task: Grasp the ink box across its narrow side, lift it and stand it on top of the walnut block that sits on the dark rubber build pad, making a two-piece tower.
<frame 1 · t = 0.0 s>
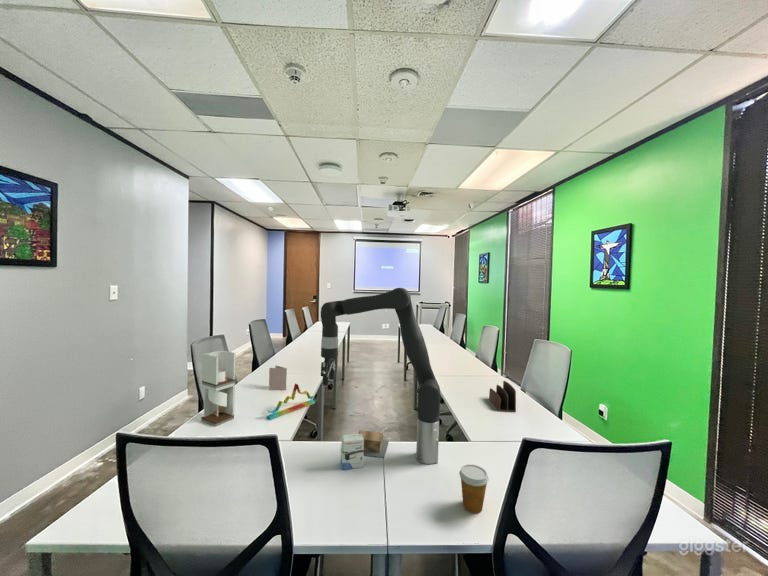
hand: (328, 381, 140), 29 cm above the table, fingers open, 8 cm apart
ink box: (351, 466, 127), on the table
walnut block: (369, 441, 141), on the build pad
greeting card: (276, 390, 210), on the table
build pad: (369, 447, 141), on the table
disposable coffee cup: (472, 507, 105), on the table
chart: (292, 411, 177), on the table
tiered shelf stand: (217, 420, 163), on the table
letter holder: (501, 406, 195), on the table
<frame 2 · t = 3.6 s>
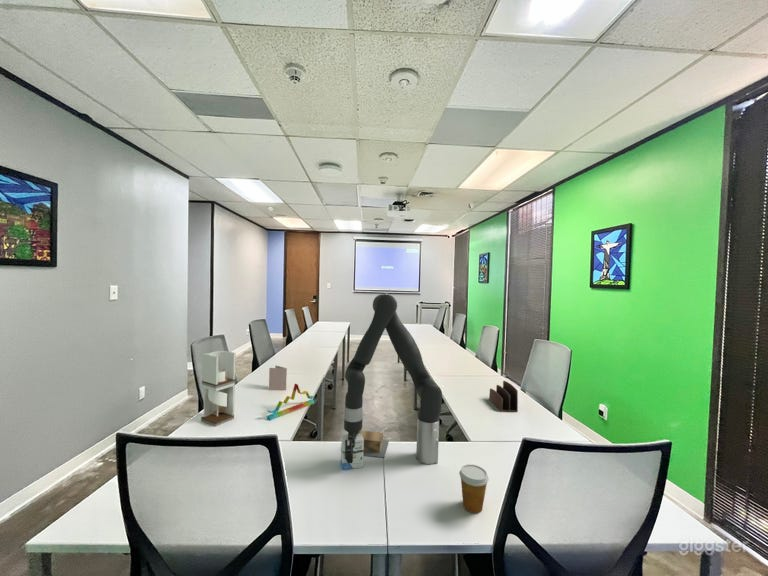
hand: (352, 457, 126), 3 cm above the table, fingers closed on ink box, 6 cm apart
ink box: (351, 466, 126), on the table, touching gripper
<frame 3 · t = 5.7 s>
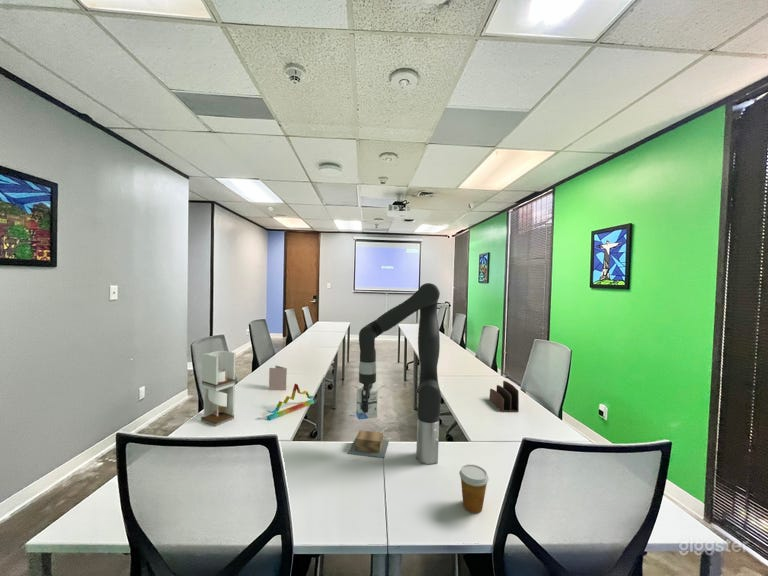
hand: (367, 408, 136), 19 cm above the table, fingers closed on ink box, 6 cm apart
ink box: (366, 416, 136), point 16 cm above the table, touching gripper
when the fingers open (10 cm above the table, at t = 8.3 s): ink box drops 1 cm, resting on walnut block.
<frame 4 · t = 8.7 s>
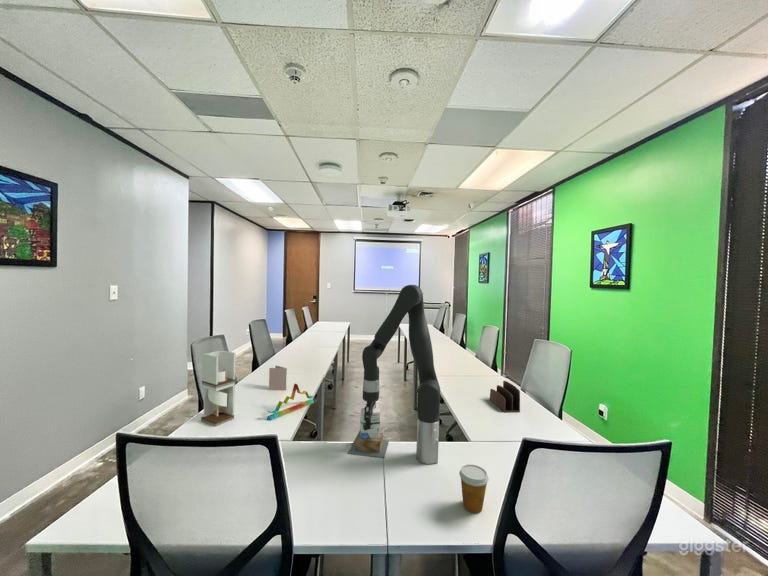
hand: (369, 424, 140), 11 cm above the table, fingers open, 8 cm apart
ink box: (369, 436, 140), point 5 cm above the table, touching walnut block
walnut block: (369, 441, 141), on the build pad, touching ink box
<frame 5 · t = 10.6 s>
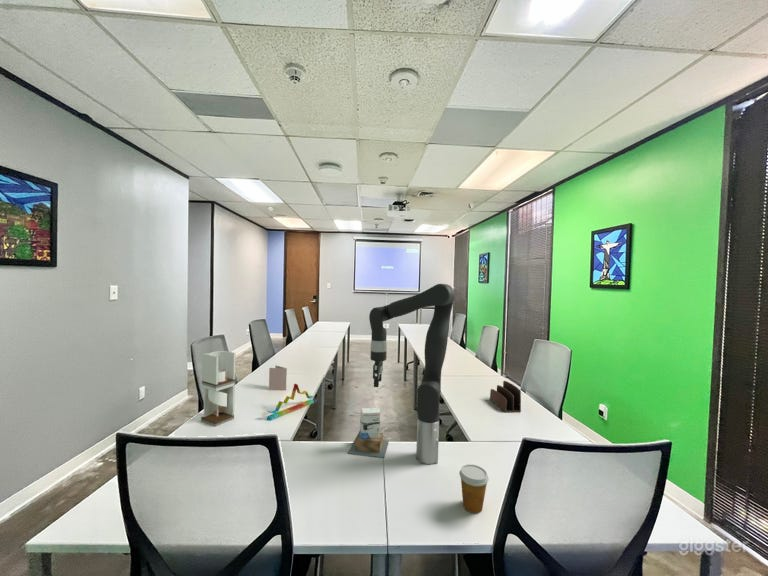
hand: (377, 384, 146), 27 cm above the table, fingers open, 8 cm apart
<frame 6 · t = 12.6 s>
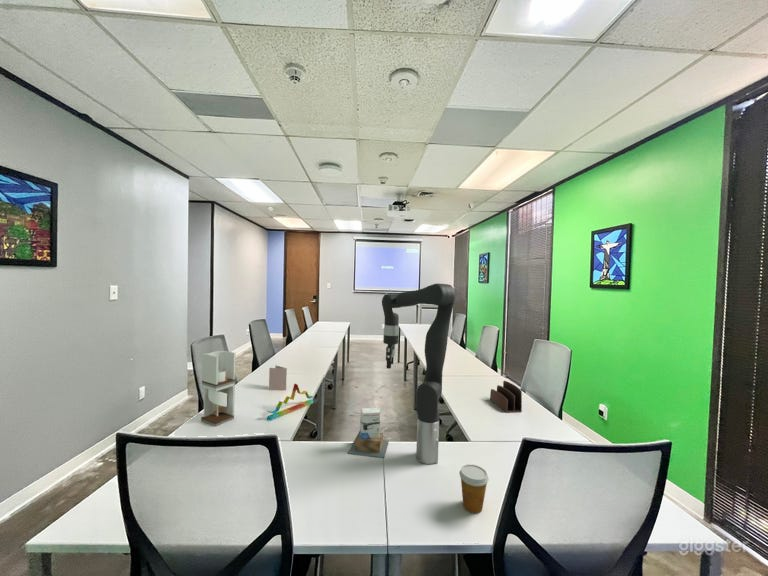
hand: (390, 366, 156), 33 cm above the table, fingers open, 8 cm apart
at the end: ink box inside the target area on the walnut block (0.2 cm from its centre), point 4.8 cm above the walnut block's base; ink box tilted 0°; the gripper is holding nothing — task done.
